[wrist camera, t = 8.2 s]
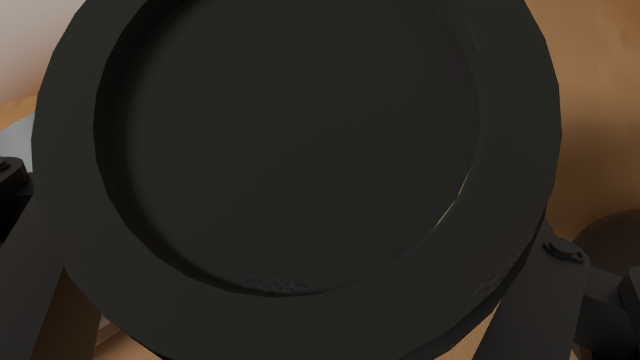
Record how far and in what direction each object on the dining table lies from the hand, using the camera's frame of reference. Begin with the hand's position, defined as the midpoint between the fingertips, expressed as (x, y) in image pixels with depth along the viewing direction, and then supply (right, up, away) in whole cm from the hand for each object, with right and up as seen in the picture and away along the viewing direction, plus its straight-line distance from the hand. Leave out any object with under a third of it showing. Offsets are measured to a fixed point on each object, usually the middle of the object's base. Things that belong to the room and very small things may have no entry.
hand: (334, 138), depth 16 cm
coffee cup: (0, -4, +5) cm, 6 cm away
